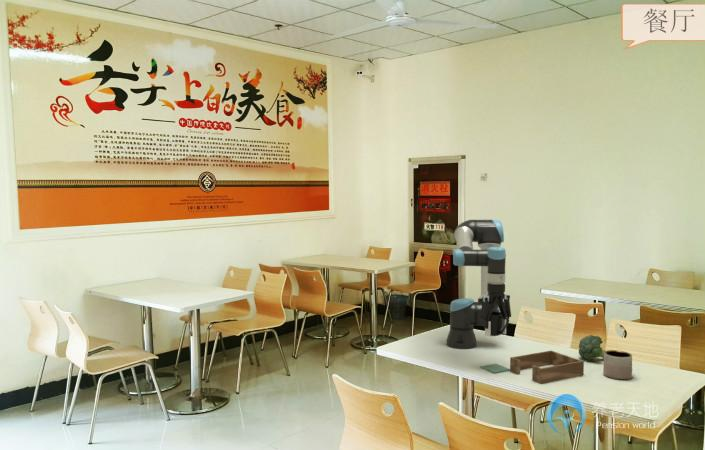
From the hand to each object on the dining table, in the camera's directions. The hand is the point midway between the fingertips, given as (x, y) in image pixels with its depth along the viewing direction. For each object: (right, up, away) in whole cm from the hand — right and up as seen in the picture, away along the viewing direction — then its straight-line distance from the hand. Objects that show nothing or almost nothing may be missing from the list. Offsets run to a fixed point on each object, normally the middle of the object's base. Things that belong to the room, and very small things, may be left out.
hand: (495, 334), depth 240 cm
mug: (0, -1, 0) cm, 1 cm away
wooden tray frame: (+21, -16, -5) cm, 26 cm away
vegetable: (+49, -15, +15) cm, 54 cm away
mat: (0, -15, +1) cm, 15 cm away
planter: (+49, -16, -8) cm, 52 cm away
